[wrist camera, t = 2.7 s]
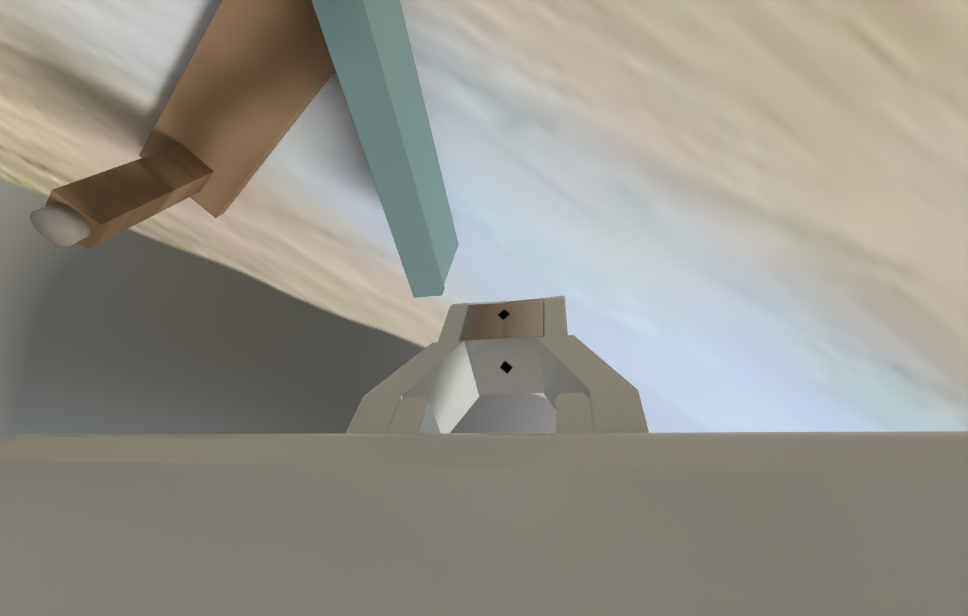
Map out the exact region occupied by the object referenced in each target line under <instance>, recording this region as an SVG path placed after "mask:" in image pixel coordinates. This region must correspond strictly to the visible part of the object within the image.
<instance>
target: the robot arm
mask: <svg viewBox="0 0 968 616" xmlns="http://www.w3.org/2000/svg"><path fill="white" fill-rule="evenodd" d="M498 393H499V394H501V393H544V394H545V396H546V397H547V399H548V400H549V401H550V403H551V404H552V406H553V407H554V408H555V409H556V433H450V432H451V430H452V429H453V428H454V427H455V426H456V424H457V423H458V422H459V421H460V419H461V418H462V417H463V416H464V415H465V413H466V412H467V411H468V410H469V408H470V407H471V406H472V405H473V403H474V402H475V401H476V400H477V398H478V397H479V395H480V394H481V395H482V394H498ZM0 616H968V432H707V433H649V431H648V428H647V424H646V420H645V416H644V412H643V408H642V404H641V400H640V396H639V392H638V390H637V389H636V388H635V387H634V386H633V385H631V384H630V383H629V382H628V381H627V380H626V379H624V378H623V377H622V376H621V375H620V374H618V373H617V372H616V371H615V370H614V369H613V368H611V367H610V366H609V365H608V364H607V363H606V362H604V361H603V360H602V359H601V358H600V357H598V356H597V355H596V354H595V353H594V352H593V351H591V350H590V349H589V348H588V347H587V346H586V345H584V344H583V343H582V342H581V341H580V340H578V339H577V338H576V337H575V336H574V335H568V333H567V319H566V306H565V297H564V296H556V297H547V298H540V299H529V300H518V301H498V302H479V303H462V304H453V305H451V306H450V308H449V311H448V314H447V317H446V320H445V323H444V326H443V329H442V332H441V334H440V337H439V340H438V343H432V344H430V345H429V346H428V347H427V348H425V349H424V350H423V351H421V352H420V353H419V354H418V355H416V356H415V357H414V358H412V359H411V360H410V361H409V362H407V363H406V364H405V365H403V366H402V367H401V368H400V369H399V370H397V371H396V372H394V373H393V374H392V375H391V376H389V377H388V378H387V379H385V380H384V381H383V382H382V383H380V384H379V385H378V386H376V387H375V388H374V389H372V390H371V391H370V392H369V393H367V394H366V395H365V396H364V397H363V399H362V401H361V403H360V405H359V407H358V409H357V411H356V413H355V415H354V417H353V419H352V421H351V423H350V425H349V427H348V430H347V432H346V434H123V435H122V434H119V435H118V434H114V435H113V434H110V435H109V434H103V435H102V434H99V435H98V434H94V435H93V434H92V435H91V434H88V435H87V434H85V435H84V434H83V435H82V434H81V435H55V434H50V435H49V434H28V435H20V436H15V437H11V438H8V439H6V440H3V441H0Z"/></svg>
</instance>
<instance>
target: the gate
mask: <svg viewBox="0 0 968 616" xmlns="http://www.w3.org/2000/svg"><path fill="white" fill-rule="evenodd" d="M312 3H313V6H314V9H315V12H316V15H317V18H318V21H319V24H320V26H321V29H322V32H323V35H324V38H325V41H326V44H327V47H328V50H329V53H330V55H331V58H332V61H333V64H334V67H335V70H336V73H337V76H338V79H339V82H340V84H341V87H342V90H343V93H344V96H345V99H346V102H347V105H348V108H349V111H350V113H351V116H352V119H353V122H354V125H355V128H356V131H357V134H358V137H359V140H360V142H361V145H362V148H363V151H364V154H365V157H366V160H367V163H368V166H369V169H370V171H371V174H372V177H373V180H374V183H375V186H376V189H377V192H378V195H379V198H380V200H381V203H382V206H383V209H384V212H385V215H386V218H387V221H388V224H389V227H390V229H391V232H392V235H393V238H394V241H395V244H396V247H397V250H398V253H399V256H400V258H401V261H402V264H403V267H404V270H405V273H406V276H407V279H408V282H409V285H410V287H411V290H412V293H413V296H414V297H426V296H439V295H442V294H443V291H444V282H445V279H446V277H447V274H448V271H449V269H450V266H451V263H452V260H453V258H454V255H455V252H456V250H457V247H458V241H457V237H456V233H455V228H454V224H453V220H452V216H451V212H450V208H449V204H448V199H447V195H446V191H445V187H444V183H443V179H442V174H441V170H440V166H439V162H438V158H437V154H436V149H435V145H434V141H433V137H432V133H431V129H430V125H429V120H428V116H427V112H426V108H425V104H424V100H423V95H422V91H421V87H420V83H419V79H418V75H417V70H416V66H415V62H414V58H413V54H412V50H411V45H410V41H409V37H408V33H407V29H406V25H405V21H404V16H403V12H402V8H401V4H400V0H312Z"/></svg>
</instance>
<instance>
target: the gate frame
mask: <svg viewBox="0 0 968 616" xmlns="http://www.w3.org/2000/svg"><path fill="white" fill-rule="evenodd" d="M334 71H335V67H334V64H333V61H332V58H331V55H330V53H329V50H328V47H327V44H326V41H325V38H324V35H323V32H322V29H321V26H320V24H319V21H318V18H317V15H316V12H315V9H314V6H313V3H312V0H222V2H221V4H220V6H219V7H218V9H217V11H216V13H215V15H214V17H213V19H212V21H211V22H210V24H209V26H208V28H207V30H206V32H205V34H204V35H203V37H202V39H201V41H200V43H199V45H198V47H197V48H196V50H195V52H194V54H193V56H192V58H191V60H190V61H189V63H188V65H187V67H186V69H185V71H184V73H183V74H182V76H181V78H180V80H179V82H178V84H177V86H176V88H175V89H174V91H173V93H172V95H171V97H170V99H169V101H168V102H167V104H166V106H165V108H164V110H163V112H162V114H161V115H160V117H159V119H158V121H157V123H156V125H155V127H154V128H153V130H152V132H151V134H150V136H149V138H148V140H147V141H146V143H145V145H144V147H143V149H142V151H141V153H140V155H139V156H140V157H142V158H141V159H139V160H136V161H133V162H130V163H127V164H124V165H122V166H119V167H116V168H113V169H110V170H107V171H105V172H102V173H99V174H96V175H93V176H90V177H88V178H85V179H82V180H79V181H76V182H73V183H71V184H68V185H65V186H62V187H59V188H56V189H54V190H52V191H51V194H50V196H49V199H48V201H47V204H46V206H45V207H44V208H41V209H39V210H36V211H33V212H32V213H31V215H30V219H31V222H32V224H33V226H34V227H35V229H36V230H37V231H38V232H39V233H40V234H41V235H42V236H43V237H45V238H46V239H48V240H49V241H51V242H53V243H55V244H57V245H60V246H70V245H72V244H74V243H76V242H79V243H80V244H82V245H83V246H84V247H86V248H87V249H88V248H90V247H92V246H94V245H96V244H98V243H100V242H102V241H104V240H106V239H108V238H110V237H112V236H114V235H115V234H118V233H120V232H122V231H124V230H126V229H128V228H130V227H132V226H134V225H135V224H137V223H139V222H141V221H143V220H145V219H147V218H149V217H151V216H153V215H155V214H157V213H159V212H161V211H163V210H165V209H167V208H169V207H171V206H173V205H175V204H177V203H179V202H181V201H183V200H184V199H186V198H188V197H191V198H192V199H193V200H194V201H195V202H197V203H198V204H199V205H200V206H202V207H203V208H204V209H205V210H206V211H208V212H209V213H210V214H211V215H213V216H214V217H215V218H216V217H218V216H220V215H221V214H223V213H224V212H225V211H226V210H227V208H228V207H229V206H230V204H231V203H232V202H233V201H234V199H235V198H236V197H237V195H238V194H239V193H240V192H241V190H242V189H243V188H244V186H245V185H246V184H247V183H248V181H249V180H250V179H251V177H252V176H253V175H254V174H255V172H256V171H257V170H258V168H259V167H260V166H261V165H262V163H263V162H264V161H265V159H266V158H267V157H268V156H269V154H270V153H271V152H272V150H273V149H274V148H275V147H276V145H277V144H278V143H279V141H280V140H281V139H282V138H283V136H284V135H285V134H286V132H287V131H288V130H289V129H290V127H291V126H292V125H293V123H294V122H295V121H296V120H297V118H298V117H299V116H300V114H301V113H302V112H303V111H304V109H305V108H306V107H307V105H308V104H309V103H310V102H311V100H312V99H313V98H314V96H315V95H316V94H317V93H318V91H319V90H320V89H321V87H322V86H323V85H324V84H325V82H326V81H327V80H328V78H329V77H330V76H331V75H332V73H333V72H334Z"/></svg>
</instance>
